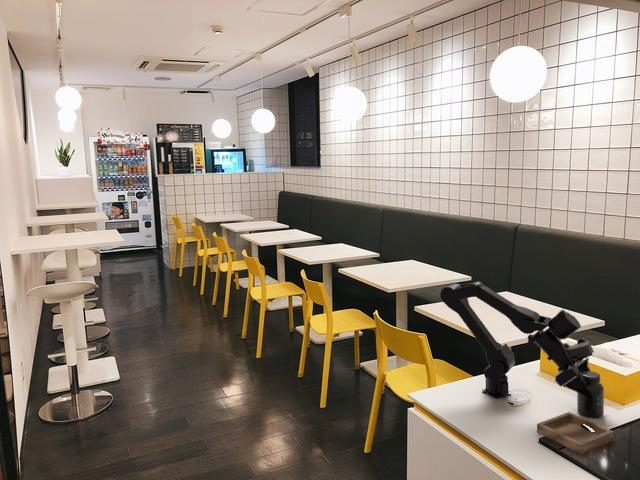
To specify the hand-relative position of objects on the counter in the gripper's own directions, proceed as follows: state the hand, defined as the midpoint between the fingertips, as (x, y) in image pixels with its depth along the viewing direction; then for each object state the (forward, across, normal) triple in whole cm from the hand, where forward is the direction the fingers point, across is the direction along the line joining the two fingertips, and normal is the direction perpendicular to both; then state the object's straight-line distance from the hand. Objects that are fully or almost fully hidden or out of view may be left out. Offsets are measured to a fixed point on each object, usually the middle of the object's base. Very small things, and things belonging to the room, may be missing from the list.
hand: (594, 390), depth 146 cm
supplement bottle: (+4, 0, +6) cm, 7 cm away
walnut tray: (+3, -16, +7) cm, 18 cm away
